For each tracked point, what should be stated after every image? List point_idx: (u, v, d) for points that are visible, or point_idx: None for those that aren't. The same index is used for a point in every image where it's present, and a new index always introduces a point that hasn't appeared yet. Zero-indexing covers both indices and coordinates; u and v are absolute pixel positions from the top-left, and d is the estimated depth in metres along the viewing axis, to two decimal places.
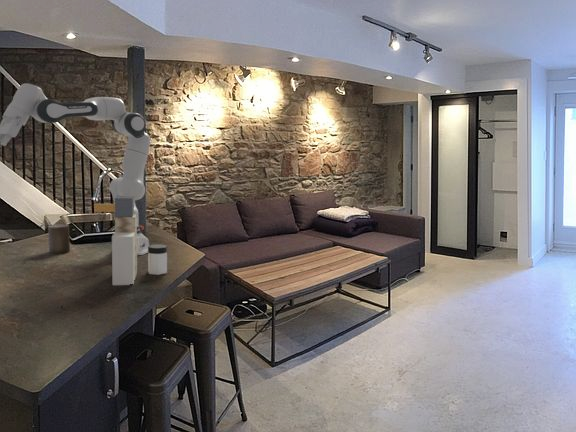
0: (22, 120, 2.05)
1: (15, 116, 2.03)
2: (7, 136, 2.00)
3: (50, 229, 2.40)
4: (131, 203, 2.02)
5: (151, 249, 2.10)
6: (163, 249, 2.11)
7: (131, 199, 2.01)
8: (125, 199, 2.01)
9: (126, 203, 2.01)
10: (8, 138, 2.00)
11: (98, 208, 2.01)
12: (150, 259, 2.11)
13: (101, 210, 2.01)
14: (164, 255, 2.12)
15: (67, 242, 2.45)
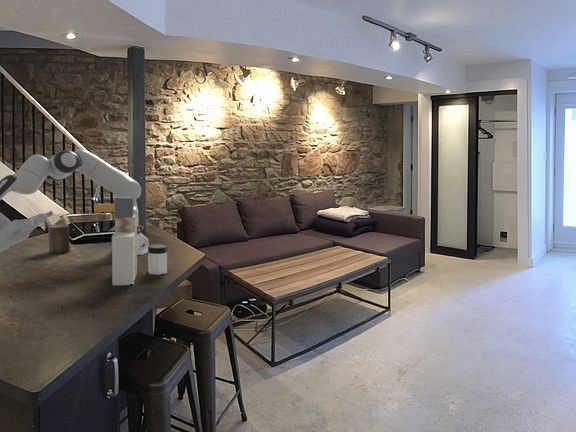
0: (13, 227, 1.94)
1: (17, 233, 1.94)
2: (36, 222, 1.93)
3: (50, 229, 2.40)
4: (131, 203, 2.02)
5: (151, 249, 2.10)
6: (163, 249, 2.11)
7: (131, 199, 2.01)
8: (125, 199, 2.01)
9: (126, 203, 2.01)
10: (37, 220, 1.93)
11: (98, 208, 2.01)
12: (150, 259, 2.11)
13: (101, 210, 2.01)
14: (164, 255, 2.12)
15: (67, 242, 2.45)
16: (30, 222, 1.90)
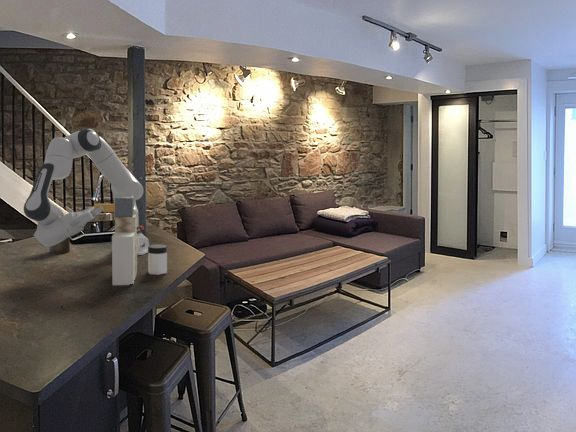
0: (70, 219, 1.97)
1: (74, 225, 1.97)
2: (94, 213, 1.99)
3: None
4: (131, 203, 2.02)
5: (151, 249, 2.10)
6: (163, 249, 2.11)
7: (131, 199, 2.01)
8: (125, 199, 2.01)
9: (126, 203, 2.01)
10: (95, 211, 1.99)
11: None
12: (150, 259, 2.11)
13: None
14: (164, 255, 2.12)
15: (67, 242, 2.45)
16: (88, 214, 1.93)
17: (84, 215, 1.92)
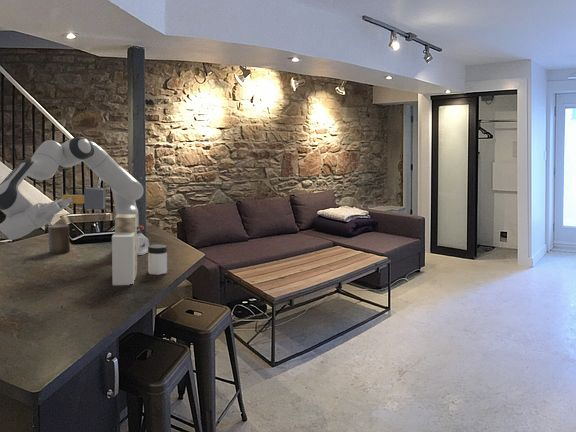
0: (36, 210, 1.86)
1: (40, 217, 1.87)
2: (62, 204, 1.88)
3: (50, 229, 2.40)
4: (101, 195, 1.91)
5: (151, 249, 2.10)
6: (163, 249, 2.11)
7: (101, 190, 1.91)
8: (95, 190, 1.90)
9: (96, 194, 1.91)
10: (62, 202, 1.88)
11: None
12: (150, 259, 2.11)
13: None
14: (164, 255, 2.12)
15: (67, 242, 2.45)
16: (54, 205, 1.82)
17: (50, 206, 1.81)
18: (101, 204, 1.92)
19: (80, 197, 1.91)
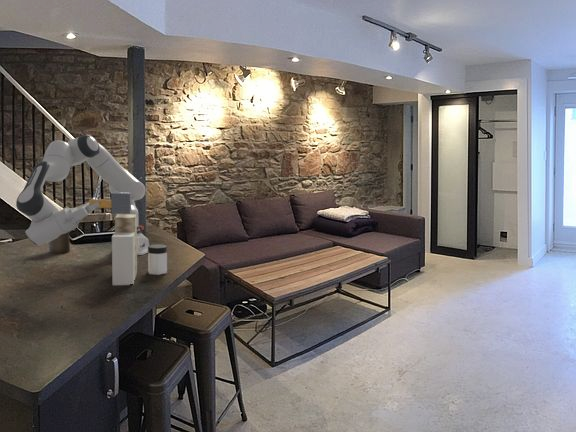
0: (64, 215, 1.86)
1: (68, 222, 1.86)
2: (89, 209, 1.87)
3: None
4: (128, 199, 1.91)
5: (151, 249, 2.10)
6: (163, 249, 2.11)
7: (128, 194, 1.90)
8: (122, 194, 1.90)
9: (123, 199, 1.90)
10: (90, 207, 1.87)
11: None
12: (150, 259, 2.11)
13: None
14: (164, 255, 2.12)
15: (67, 242, 2.45)
16: (83, 210, 1.82)
17: (78, 211, 1.81)
18: (128, 208, 1.91)
19: (107, 201, 1.91)
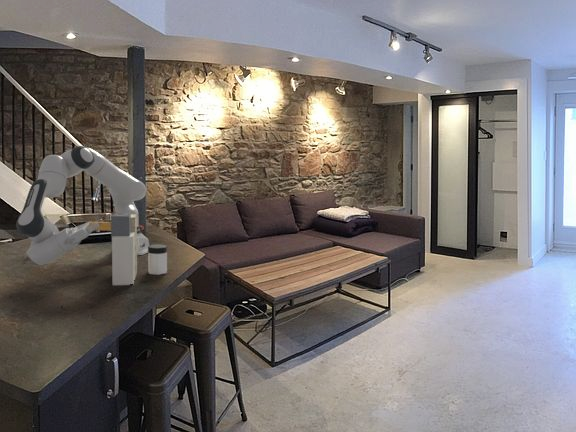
0: (65, 236, 1.87)
1: (69, 243, 1.87)
2: (89, 231, 1.86)
3: None
4: (128, 221, 1.92)
5: (151, 249, 2.10)
6: (163, 249, 2.11)
7: (128, 217, 1.92)
8: (122, 217, 1.91)
9: (123, 221, 1.91)
10: (89, 228, 1.86)
11: None
12: (150, 259, 2.11)
13: (96, 228, 1.91)
14: (164, 255, 2.12)
15: None
16: (83, 231, 1.83)
17: (79, 232, 1.82)
18: (128, 231, 1.92)
19: (106, 224, 1.92)
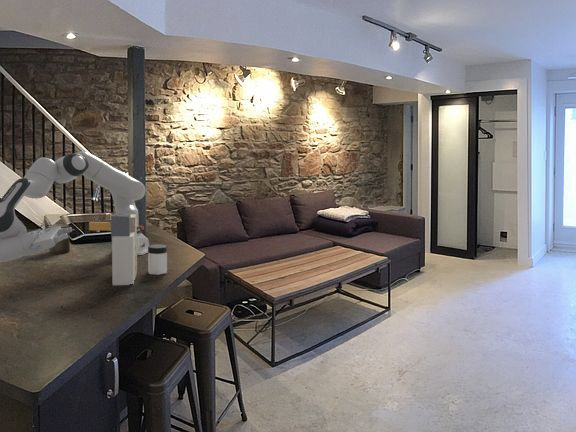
0: (31, 239, 1.86)
1: None
2: (56, 240, 1.86)
3: None
4: (128, 221, 1.92)
5: (151, 249, 2.10)
6: (163, 249, 2.11)
7: (128, 217, 1.92)
8: (122, 217, 1.91)
9: (123, 221, 1.91)
10: (57, 238, 1.86)
11: (93, 227, 1.91)
12: (150, 259, 2.11)
13: (96, 228, 1.91)
14: (164, 255, 2.12)
15: (67, 242, 2.45)
16: (51, 241, 1.82)
17: (46, 241, 1.81)
18: (128, 231, 1.92)
19: (106, 224, 1.92)
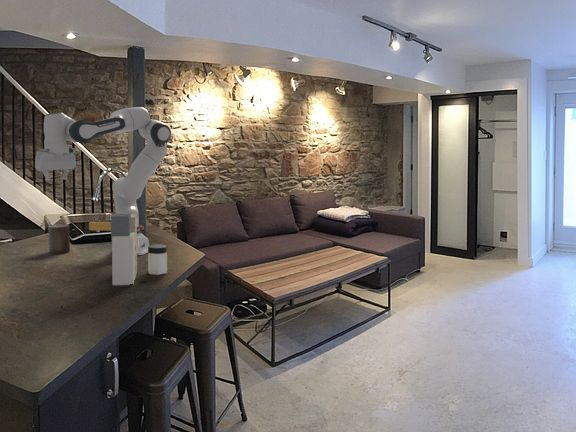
0: (52, 150, 2.10)
1: None
2: (43, 171, 2.09)
3: (50, 229, 2.40)
4: (128, 221, 1.92)
5: (151, 249, 2.10)
6: (163, 249, 2.11)
7: (128, 217, 1.92)
8: (122, 217, 1.91)
9: (123, 221, 1.91)
10: (45, 173, 2.09)
11: (93, 227, 1.91)
12: (150, 259, 2.11)
13: (96, 228, 1.91)
14: (164, 255, 2.12)
15: (67, 242, 2.45)
16: (39, 169, 2.06)
17: (39, 166, 2.05)
18: (128, 231, 1.92)
19: (106, 224, 1.92)
